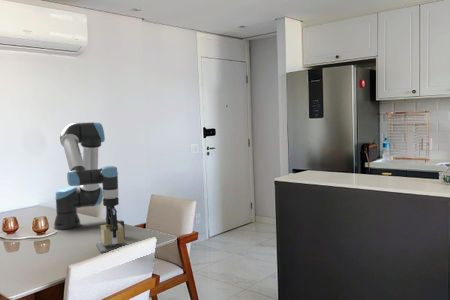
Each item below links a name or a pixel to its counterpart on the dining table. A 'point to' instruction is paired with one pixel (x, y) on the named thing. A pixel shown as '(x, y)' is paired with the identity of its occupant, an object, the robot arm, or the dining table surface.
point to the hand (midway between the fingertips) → (112, 240)
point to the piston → (109, 247)
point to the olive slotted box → (107, 234)
